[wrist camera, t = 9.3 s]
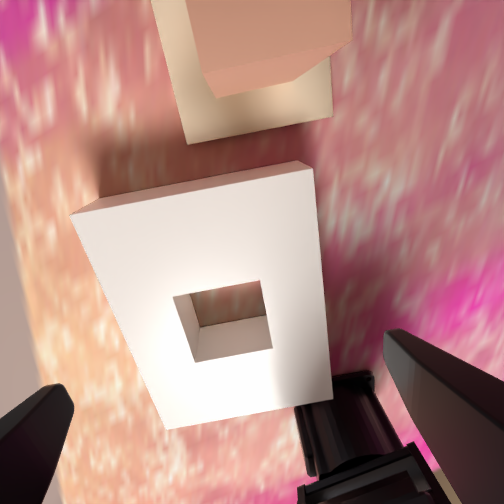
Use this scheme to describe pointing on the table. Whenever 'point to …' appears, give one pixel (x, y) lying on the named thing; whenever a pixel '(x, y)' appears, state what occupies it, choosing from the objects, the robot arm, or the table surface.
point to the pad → (237, 105)
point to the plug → (265, 39)
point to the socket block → (211, 277)
